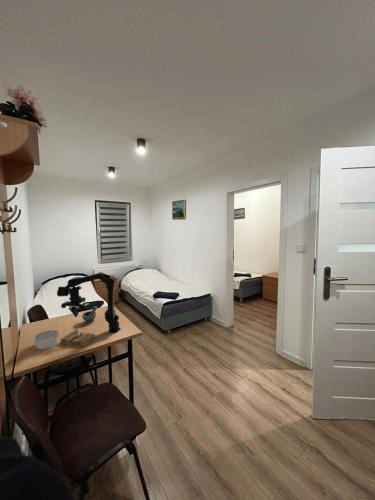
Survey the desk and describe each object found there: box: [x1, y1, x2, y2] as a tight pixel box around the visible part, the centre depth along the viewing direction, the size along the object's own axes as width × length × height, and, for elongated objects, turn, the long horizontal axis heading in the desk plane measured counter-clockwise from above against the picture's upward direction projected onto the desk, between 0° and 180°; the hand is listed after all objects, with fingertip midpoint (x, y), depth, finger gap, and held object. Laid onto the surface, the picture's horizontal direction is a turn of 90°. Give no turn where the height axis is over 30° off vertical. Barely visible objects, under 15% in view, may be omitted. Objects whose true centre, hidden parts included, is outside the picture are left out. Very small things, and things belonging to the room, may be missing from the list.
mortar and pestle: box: [81, 306, 98, 325], centre depth 165 cm, size 11×9×12 cm
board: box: [59, 331, 95, 348], centre depth 138 cm, size 18×10×3 cm, turn 77°
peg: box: [74, 328, 81, 339], centre depth 138 cm, size 3×3×8 cm
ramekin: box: [33, 329, 59, 350], centre depth 134 cm, size 13×13×7 cm
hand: (76, 316), depth 147 cm, fingers closed
